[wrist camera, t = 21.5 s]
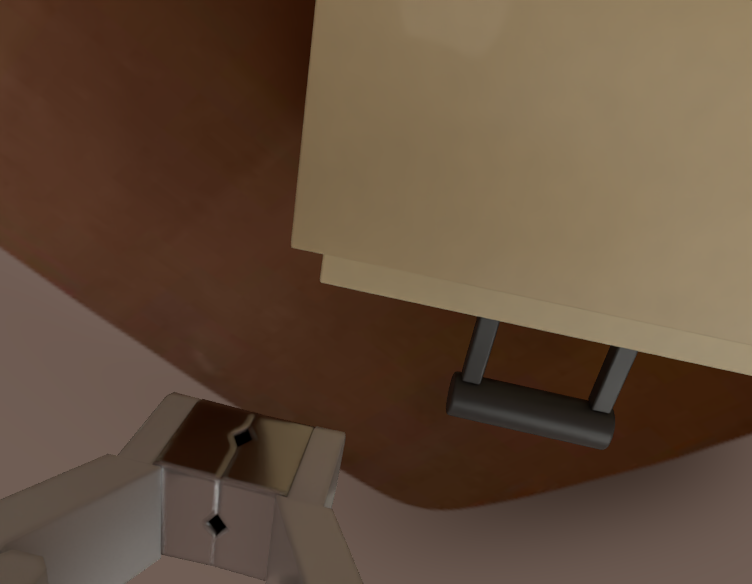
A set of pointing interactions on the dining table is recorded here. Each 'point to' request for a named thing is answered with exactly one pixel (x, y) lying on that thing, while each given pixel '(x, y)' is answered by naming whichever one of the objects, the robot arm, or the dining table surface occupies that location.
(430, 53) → the cabinet
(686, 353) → the drawer
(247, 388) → the dining table surface
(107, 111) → the dining table surface
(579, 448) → the dining table surface
